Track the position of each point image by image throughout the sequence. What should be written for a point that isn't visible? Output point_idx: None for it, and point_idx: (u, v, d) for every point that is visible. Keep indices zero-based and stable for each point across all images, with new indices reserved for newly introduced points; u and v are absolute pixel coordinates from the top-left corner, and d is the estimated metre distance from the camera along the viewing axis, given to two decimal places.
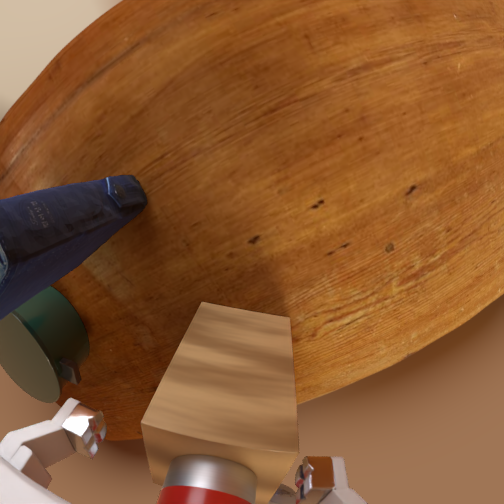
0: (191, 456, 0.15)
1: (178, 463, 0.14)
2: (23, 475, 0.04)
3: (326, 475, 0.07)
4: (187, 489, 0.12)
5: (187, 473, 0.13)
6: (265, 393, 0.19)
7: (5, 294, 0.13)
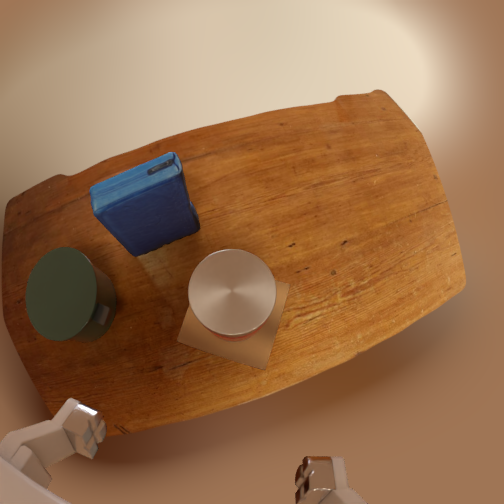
0: None
1: None
2: (23, 475, 0.04)
3: (326, 475, 0.07)
4: None
5: None
6: None
7: (155, 190, 0.36)
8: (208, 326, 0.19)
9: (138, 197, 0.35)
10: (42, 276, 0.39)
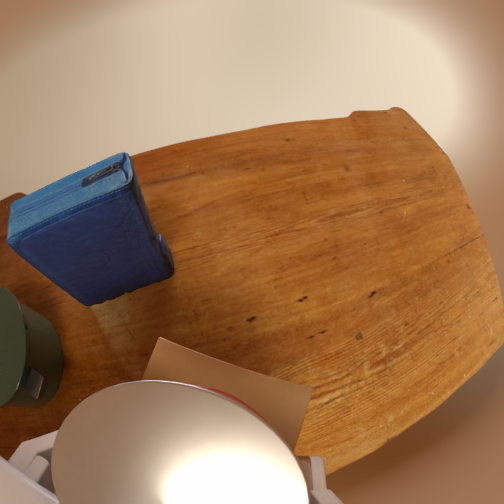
0: None
1: None
2: (23, 475, 0.04)
3: None
4: None
5: None
6: None
7: (91, 212, 0.20)
8: None
9: (66, 222, 0.20)
10: None
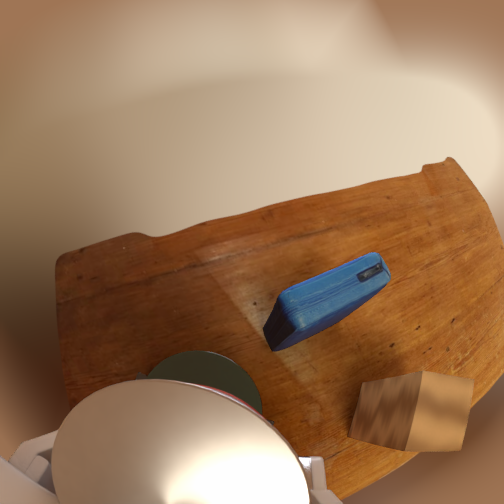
0: None
1: None
2: (23, 475, 0.04)
3: None
4: None
5: None
6: None
7: (364, 299, 0.31)
8: None
9: (348, 308, 0.30)
10: None
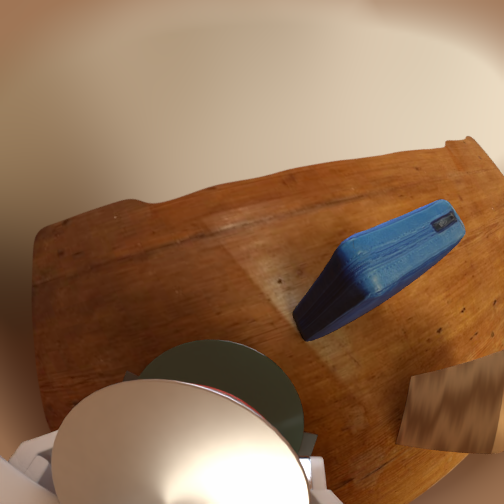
0: None
1: None
2: (23, 475, 0.04)
3: None
4: None
5: None
6: None
7: (440, 257, 0.21)
8: None
9: (426, 267, 0.20)
10: None
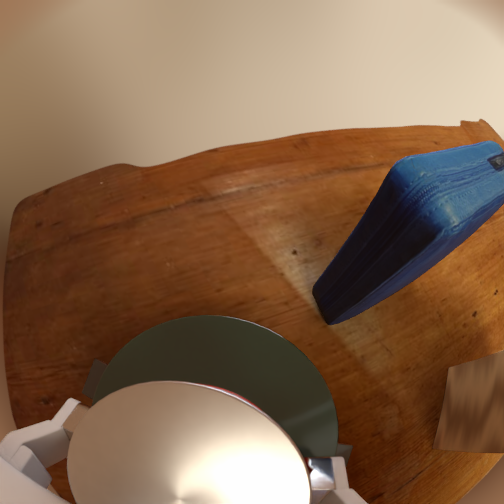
0: None
1: None
2: (23, 475, 0.04)
3: (326, 475, 0.07)
4: None
5: None
6: None
7: (501, 203, 0.13)
8: None
9: (491, 211, 0.13)
10: None
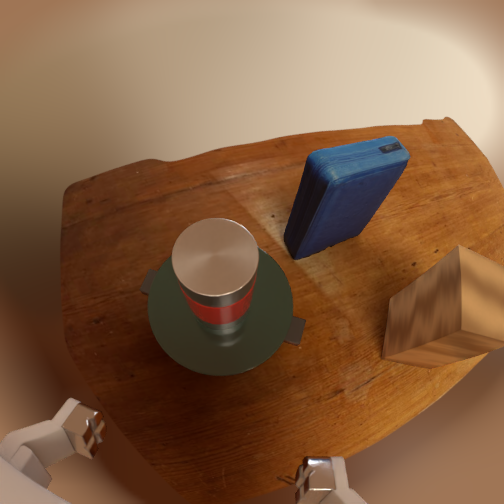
0: None
1: None
2: (23, 475, 0.04)
3: (326, 475, 0.07)
4: None
5: None
6: None
7: (389, 171, 0.30)
8: (189, 287, 0.19)
9: (376, 175, 0.29)
10: None
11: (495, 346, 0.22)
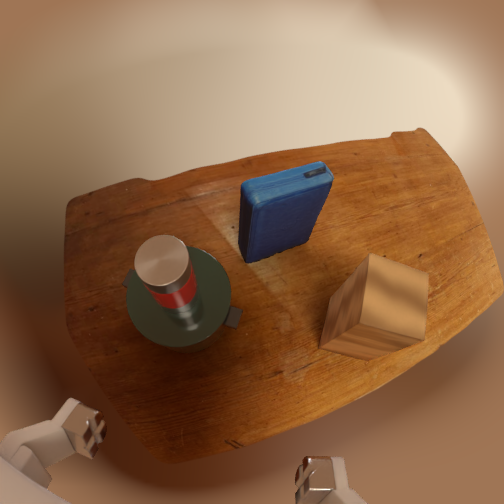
0: None
1: None
2: (23, 475, 0.04)
3: (326, 475, 0.07)
4: None
5: None
6: None
7: (311, 193, 0.40)
8: (143, 279, 0.30)
9: (297, 197, 0.39)
10: None
11: (408, 342, 0.33)
